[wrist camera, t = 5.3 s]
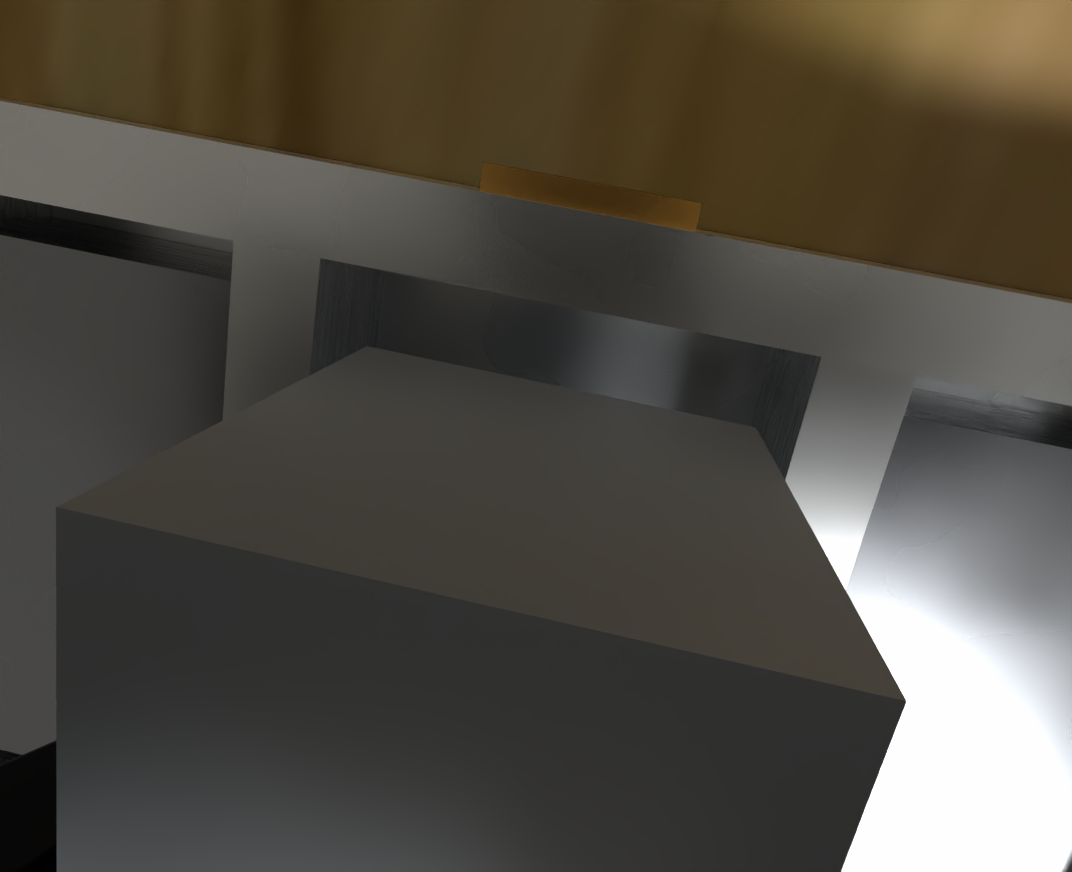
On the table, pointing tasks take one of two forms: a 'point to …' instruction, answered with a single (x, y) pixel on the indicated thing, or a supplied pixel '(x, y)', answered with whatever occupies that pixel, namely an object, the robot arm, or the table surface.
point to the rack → (582, 364)
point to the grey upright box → (458, 642)
